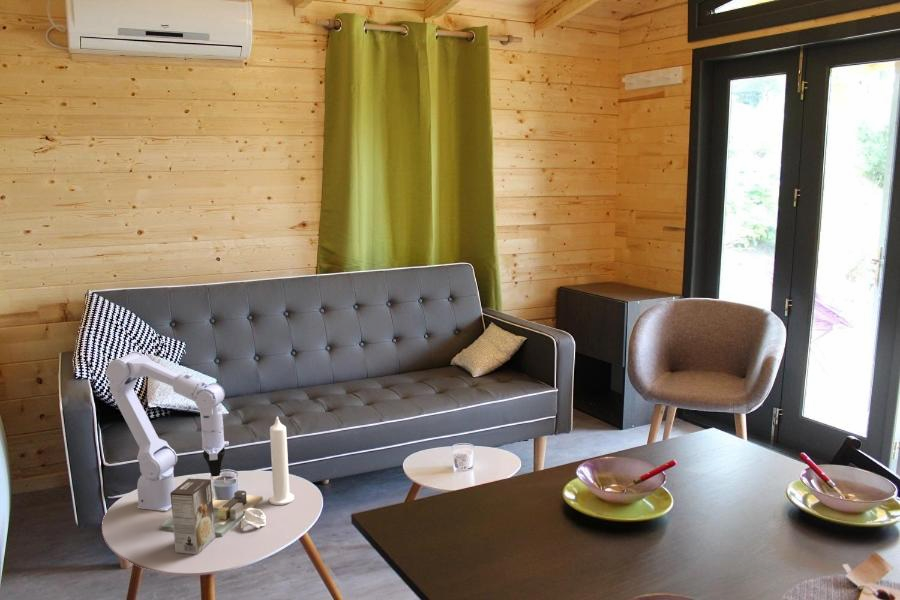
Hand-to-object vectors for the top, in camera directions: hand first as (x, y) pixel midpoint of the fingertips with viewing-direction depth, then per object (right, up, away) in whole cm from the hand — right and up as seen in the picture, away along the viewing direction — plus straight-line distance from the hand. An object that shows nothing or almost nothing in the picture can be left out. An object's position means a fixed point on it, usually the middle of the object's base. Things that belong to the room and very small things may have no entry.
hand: (215, 475), depth 211 cm
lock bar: (+5, -9, -2) cm, 11 cm away
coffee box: (+1, -14, -18) cm, 23 cm away
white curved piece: (+12, -12, -7) cm, 19 cm away
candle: (+17, -9, +7) cm, 20 cm away
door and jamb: (0, -10, -1) cm, 10 cm away
